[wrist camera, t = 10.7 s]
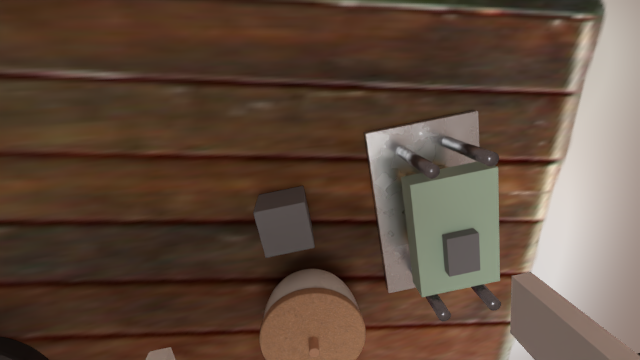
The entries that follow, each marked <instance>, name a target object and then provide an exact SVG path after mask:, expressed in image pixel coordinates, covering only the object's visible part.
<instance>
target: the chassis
mask: <svg viewBox="0 0 640 360" xmlns="http://www.w3.org/2000/svg"><path fill="white" fill-rule="evenodd" d="M364 138H365V145H366V151H367V158H368V165H369V172H370V179H371V186H372V192H373V199H374V206H375V213H376V220H377V227H378V233H379V240H380V247H381V254H382V261H383V268H384V274H385V281H386V288H387V290H388V293H392V292H397V291H401V290H406V289H411V288H415V287H416V286H415V285H414V283H413V278H412V269H411V261H410V252H409V243H408V234H407V226H406V217H405V208H404V200H403V191H402V182H401V177H404V176H409V175H414V174H419V173H423V174H424V175H426V176H427V177H428V178H431V179H433V178H436V177H437V176H438V175H439V173H440V169H443V168H448V167H453V166H458V165H462V164H467V163H472V162H477V161H478V162H480V163H482V164H485V165H487V166H494V165H496V164H497V162H498V160H499V156H498V154H497V153H495V152H492V151H489V150H486V149H483V148H480V147H479V125H478V111H474V110H472V111H467V112H462V113H457V114H452V115H447V116H442V117H437V118H433V119H428V120H423V121H418V122H413V123H408V124H403V125H398V126H393V127H388V128H383V129H378V130H373V131H368V132H364ZM471 288H472V289H473V290H474V291H475V292H476V294H477V295H478V296H479V297H480V298H481V299H482V301H483V302H484V303H485V304H486V305H487V306H488V307H489V309H490V310H497V309H499V308H500V306H501V302H500V301H499V300H498V299H497V298H496V297H495V296H494V295H493V294H492V293H491V291H490V290H489V289H488V288H487V287H486V286H485V285H484V284H482V285H477V286H472V287H471ZM426 298H427V300H428V302H429V303H430V305H431V306H432V308H433V310H434V311H435V313H436V315H437V316H438V318H439V319H440V320H441V321H447V320H448V319H449V318H450V317H451V314H450V312H449V311H448V309H447V308H446V306H445V305H444V303H443V302H442V300H441V299H440V297H439V296H438V294H435V295H430V296H426Z"/></svg>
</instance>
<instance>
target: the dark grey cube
mask: <svg viewBox="0 0 640 360" xmlns="http://www.w3.org/2000/svg"><path fill="white" fill-rule="evenodd" d="M253 213H254V217H255V221H256V224H257V228H258V232H259V235H260V239H261V242H262V246H263V250H264V253H265V257H266V258H268V257H273V256H277V255H282V254H287V253H292V252H296V251H301V250H306V249H311V248H315V245H314V238H313V230H312V224H311V219H310V214H309V210H308V205H307V201H306V196H305V191H304V187H303V186H300V187H295V188H290V189H285V190H280V191H275V192H271V193H266V194H261V195H259V196H258V199H257V202H256V206H255V209H254V212H253Z"/></svg>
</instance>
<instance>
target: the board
mask: <svg viewBox="0 0 640 360" xmlns="http://www.w3.org/2000/svg"><path fill="white" fill-rule="evenodd" d="M401 182H402V191H403V200H404V208H405V217H406V226H407V234H408V243H409V252H410V261H411V269H412V278H413V283H414V285H415V286H416V288H417V290H418V291H419V293H420V295H421V296H422V297H426V296H430V295H435V294H440V293H444V292H449V291H454V290H458V289H463V288H468V287H472V286H477V285H482V284H486V283H491V282H496V281H500V261H499V194H498V167H497V166H487V165H485V164H482V163H480V162H478V161H477V162H472V163H467V164H462V165H458V166H453V167H448V168H443V169H440V173H439V175H438V176H437V177H436V178H433V179H431V178H428V177H427V176H426V175H424V174H423V173H419V174H414V175H409V176H404V177H401Z"/></svg>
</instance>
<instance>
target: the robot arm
mask: <svg viewBox="0 0 640 360" xmlns="http://www.w3.org/2000/svg"><path fill="white" fill-rule="evenodd" d="M510 333H511V334H512V335H513V336H514V337H515V338H516V339H517V341H518V342H519V343H520V344H521V345H522V346H523V347H524V348H525V349H526V351H527V352H528V353H529V354H530V355H531V356H532V357H533V358H534V359H535V360H640V353H638V354H637V353H635V352H634V351H633V350H631V349H630V348H629V347H627V346H626V345H625V344H623V343H622V342H621V341H620V340H618V339H617V338H616V337H614V336H613V335H611V333H609V332H608V331H607V330H605V329H604V328H603V327H601V326H600V325H599V324H598V323H596V322H595V321H594V320H592V319H591V318H590V317H588V316H587V315H586V314H584V313H583V312H582V311H580V310H579V309H578V308H576V307H575V306H574V305H573V304H572V303H570V302H569V301H568V300H566V299H565V298H564V297H562V296H561V295H560V294H558V293H557V292H556V291H555V290H553V289H552V288H551V287H549V286H548V285H547V284H545V283H544V282H543V281H542V280H540V279H539V278H538V277H536V276H535V275H534V274H532V273H531V272H529V273H524V274H519V275H514V276H512V289H511V330H510ZM0 360H48V359H47V358H46V357H45V356H44V355H43V354H41V353H40V352H38V351H37V350H35V349H34V348H32V347H30V346H28V345H26V344H24V343H21V342H19V341H16V340H13V339H9V338H5V337H0ZM146 360H176V359H175V357H174V354H173V352H172V349H171V347H169V348H165V349H160V350H155V351H150V352H149V354H148V356H147V358H146Z"/></svg>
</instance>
